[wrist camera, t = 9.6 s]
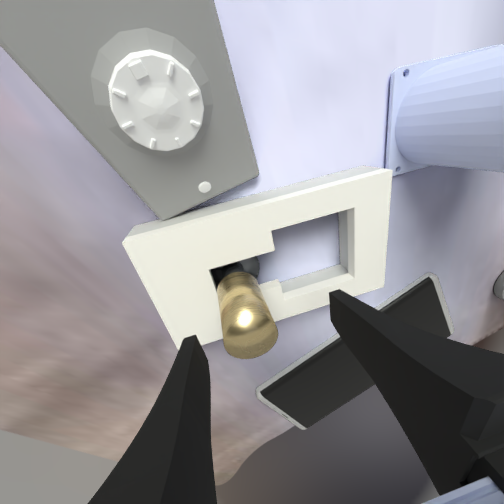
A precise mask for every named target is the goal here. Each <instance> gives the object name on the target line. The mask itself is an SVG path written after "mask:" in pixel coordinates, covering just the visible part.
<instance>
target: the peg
mask: <svg viewBox="0 0 504 504" xmlns="http://www.w3.org/2000/svg"><path fill="white" fill-rule="evenodd" d="M210 270H211V273H212V276H213V279H214V282H215V285H216V287H217V295H218V303H219V311H220V318H221V326H222V334H223V342H224V347H225V349H226V351H227V352H228V353H229V354H230V355H232V356H233V357H236V358H240V359H251V358H255V357H258V356H261V355H263V354H265V353H266V352H268V351H269V350H270V349H271V348H272V347H273V346H274V344H275V343H276V341H277V338H278V330H277V327H276V325H275V322H274V320H273V318H272V315H271V313H270V311H269V308H268V306H267V303H266V301H265V299H264V296H263V294H262V292H261V289H260V287H259V285H258V282H257V280H256V278H257V276H258V273H259V262H258V259H257V257H256V256H254V257H251V258H247V259H244V260H241V261H237V262H234V263H230V264H227V265H223V266H220V267H216V268H213V269H210Z"/></svg>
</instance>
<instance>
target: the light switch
mask: <svg viewBox="0 0 504 504" xmlns="http://www.w3.org/2000/svg"><path fill="white" fill-rule="evenodd" d="M0 46H1V47H2V48H3V49H4V50H5V51H6V52H7V53H8V55H9V56H10V57H11V58H12V59H13V60H14V61H15V62H16V63H17V64H18V65H19V66H20V68H21V69H22V70H23V71H24V72H25V73H26V74H27V75H28V76H29V77H30V78H31V80H32V81H33V82H34V83H35V84H36V85H37V86H38V87H39V88H40V89H41V90H42V91H43V93H44V94H45V95H46V96H47V97H48V98H49V99H50V100H51V101H52V102H53V103H54V104H55V106H56V107H57V108H58V109H59V110H60V111H61V112H62V113H63V114H64V115H65V116H66V118H67V119H68V120H69V121H70V122H71V123H72V124H73V125H74V126H75V127H76V128H77V129H78V131H79V132H80V133H81V134H82V135H83V136H84V137H85V138H86V139H87V140H88V141H89V143H90V144H91V145H92V146H93V147H94V148H95V149H96V150H97V151H98V152H99V153H100V154H101V156H102V157H103V158H104V159H105V160H106V161H107V162H108V163H109V164H110V165H111V166H112V168H113V169H114V170H115V171H116V172H117V173H118V174H119V175H120V176H121V177H122V178H123V179H124V181H125V182H126V183H127V184H128V185H129V186H130V187H131V188H132V189H133V190H134V191H135V192H136V194H137V195H138V196H139V197H140V198H141V199H142V200H143V201H144V202H145V203H146V204H147V206H148V207H149V208H150V209H151V210H152V211H153V212H154V213H155V214H156V215H157V216H158V217H159V219H160V220H162V221H165V220H167V219H169V218H172V217H174V216H176V215H178V214H180V213H182V212H184V211H186V210H188V209H190V208H192V207H195V206H197V205H199V204H201V203H203V202H205V201H207V200H209V199H211V198H213V197H215V196H218V195H220V194H222V193H224V192H226V191H228V190H230V189H232V188H234V187H236V186H238V185H240V184H243V183H245V182H247V181H249V180H251V179H253V178H255V177H257V176H258V175H259V169H258V166H257V162H256V158H255V154H254V150H253V147H252V143H251V139H250V135H249V132H248V128H247V124H246V120H245V116H244V113H243V109H242V105H241V101H240V98H239V94H238V90H237V86H236V83H235V79H234V75H233V71H232V67H231V64H230V60H229V56H228V52H227V49H226V45H225V41H224V37H223V33H222V30H221V26H220V22H219V18H218V15H217V11H216V7H215V3H214V0H0ZM108 85H109V90H108ZM109 96H110V99H109ZM110 105H111V107H110Z"/></svg>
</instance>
